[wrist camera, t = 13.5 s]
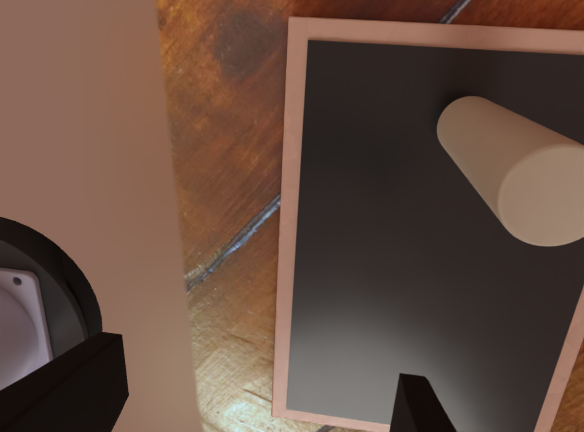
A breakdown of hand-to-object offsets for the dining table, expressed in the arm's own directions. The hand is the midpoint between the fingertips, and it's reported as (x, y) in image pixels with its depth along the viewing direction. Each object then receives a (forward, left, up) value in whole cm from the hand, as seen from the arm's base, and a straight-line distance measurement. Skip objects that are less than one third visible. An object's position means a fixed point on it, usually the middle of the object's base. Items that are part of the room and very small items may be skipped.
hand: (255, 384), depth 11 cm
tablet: (+6, -1, -10) cm, 12 cm away
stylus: (+6, +6, -9) cm, 12 cm away
